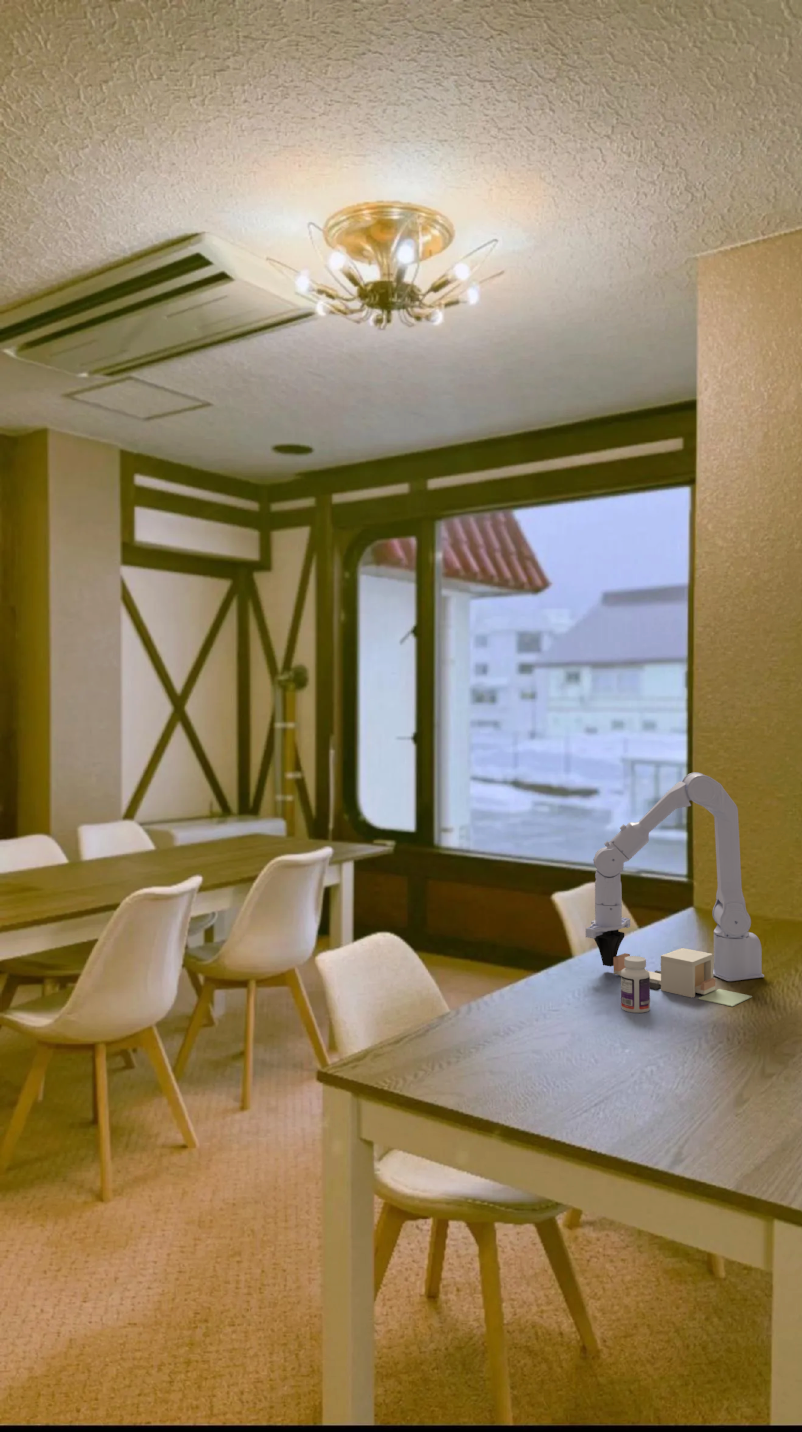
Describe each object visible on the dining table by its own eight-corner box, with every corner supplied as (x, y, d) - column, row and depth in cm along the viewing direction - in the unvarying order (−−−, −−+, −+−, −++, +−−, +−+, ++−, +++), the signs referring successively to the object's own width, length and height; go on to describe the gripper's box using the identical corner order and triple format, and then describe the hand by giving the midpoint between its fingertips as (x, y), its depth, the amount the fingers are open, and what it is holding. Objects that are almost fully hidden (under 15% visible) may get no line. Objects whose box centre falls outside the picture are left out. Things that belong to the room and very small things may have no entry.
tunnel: (682, 981, 200) (682, 947, 200) (713, 988, 196) (713, 954, 195) (660, 990, 194) (660, 955, 194) (692, 997, 189) (692, 962, 189)
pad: (719, 989, 195) (719, 988, 195) (752, 997, 190) (752, 996, 190) (698, 999, 189) (698, 998, 189) (732, 1006, 184) (732, 1005, 184)
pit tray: (656, 976, 205) (656, 970, 205) (677, 980, 201) (677, 975, 201) (635, 984, 199) (635, 978, 199) (656, 989, 195) (656, 983, 195)
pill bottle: (647, 1005, 185) (647, 955, 185) (652, 1014, 180) (651, 962, 180) (619, 1004, 186) (619, 954, 186) (622, 1013, 180) (622, 962, 180)
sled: (625, 969, 208) (625, 946, 208) (715, 989, 193) (715, 965, 193) (613, 973, 205) (613, 950, 205) (704, 994, 190) (704, 969, 190)
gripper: (611, 895, 216) (611, 955, 216) (573, 905, 206) (573, 968, 206) (638, 900, 211) (638, 961, 211) (601, 910, 201) (601, 974, 201)
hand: (608, 965), depth 208 cm, fingers closed
